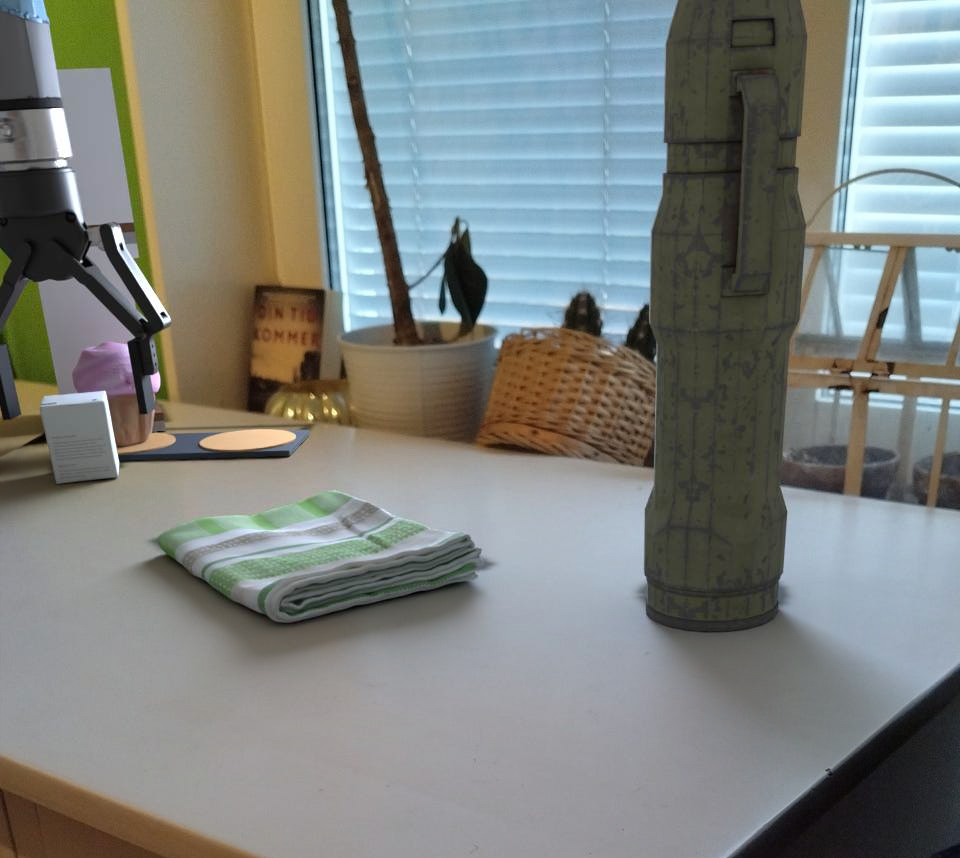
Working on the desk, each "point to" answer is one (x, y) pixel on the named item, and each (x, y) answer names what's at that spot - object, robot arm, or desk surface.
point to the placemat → (215, 445)
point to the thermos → (724, 311)
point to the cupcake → (115, 389)
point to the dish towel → (319, 556)
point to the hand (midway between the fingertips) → (79, 414)
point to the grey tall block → (91, 225)
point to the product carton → (80, 436)
